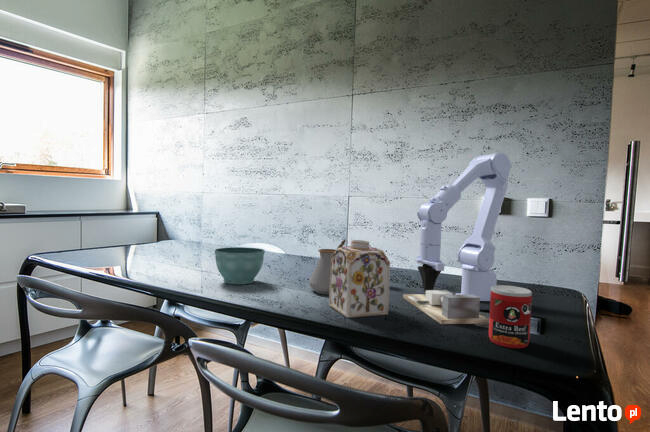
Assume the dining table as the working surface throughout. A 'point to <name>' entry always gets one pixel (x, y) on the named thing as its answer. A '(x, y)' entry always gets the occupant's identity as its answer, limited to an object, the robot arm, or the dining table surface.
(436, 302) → the gauge carriage
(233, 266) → the flower pot
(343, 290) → the decorative jar
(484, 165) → the robot arm
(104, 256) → the dining table surface
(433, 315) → the bench
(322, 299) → the dining table surface
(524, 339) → the canned food
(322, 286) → the coffee pot
